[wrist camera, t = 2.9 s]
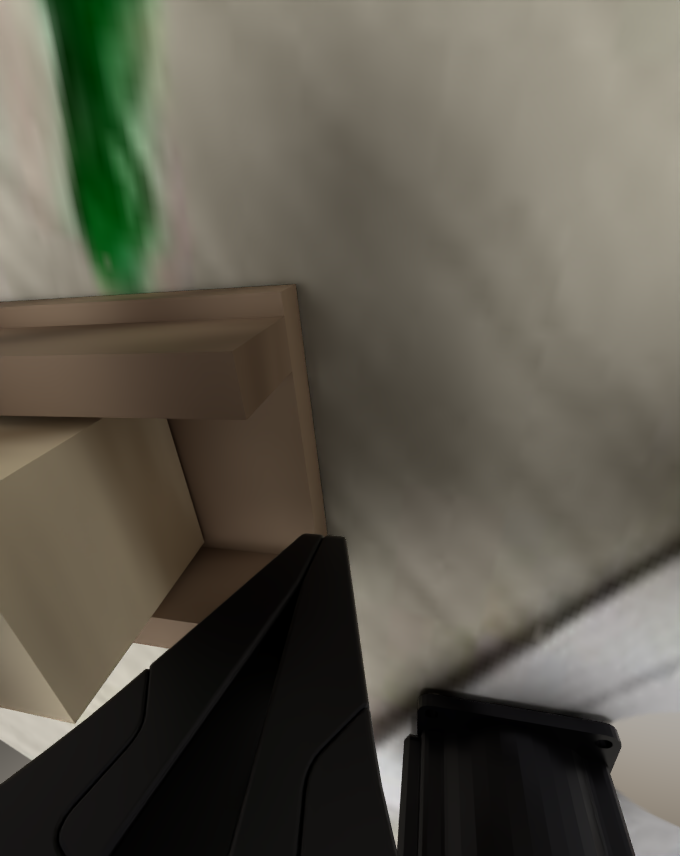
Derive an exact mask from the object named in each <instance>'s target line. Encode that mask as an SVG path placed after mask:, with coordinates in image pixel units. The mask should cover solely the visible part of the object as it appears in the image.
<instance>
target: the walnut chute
mask: <svg viewBox="0 0 680 856" xmlns="http://www.w3.org/2000/svg"><path fill="white" fill-rule="evenodd" d="M0 416H51V417H104V418H157V419H167V422H168V425H169V428H170V431H171V435H172V438H173V441H174V445H175V448H176V451H177V454H178V458H179V461H180V464H181V467H182V471H183V474H184V477H185V481H186V484H187V487H188V490H189V494H190V497H191V500H192V503H193V507H194V510H195V513H196V517H197V520H198V523H199V526H200V530H201V533H202V536H203V539H204V543H203V545H202V546H201V548H200V549H199V550H198V552H197V553H196V555H195V556H194V557H193V559H192V560H191V562H190V563H189V564H188V566H187V567H186V569H185V570H184V572H183V573H182V574H181V576H180V577H179V579H178V580H177V581H176V583H175V584H174V586H173V587H172V588H171V590H170V591H169V593H168V594H167V595H166V597H165V598H164V600H163V601H162V602H161V604H160V605H159V607H158V608H157V609H156V611H155V612H154V614H153V615H152V616H151V618H150V619H149V621H148V622H147V623H146V625H145V626H144V628H143V629H142V630H141V632H140V633H139V635H138V636H137V637H136V639H135V640H134V642H133V643H138V644H144V645H150V646H157V647H163V648H169V649H170V648H171V647H172V646H173V645H174V644H175V643H177V642H178V641H179V640H180V639H181V638H182V637H184V636H185V635H186V634H187V633H188V632H189V631H190V630H192V629H193V628H194V627H195V626H196V625H197V624H199V623H200V622H201V621H202V620H203V619H204V618H206V617H207V616H208V615H209V614H210V613H211V612H212V611H214V610H215V609H216V608H217V607H218V606H219V605H221V604H222V603H223V602H224V601H225V600H226V599H228V598H229V597H230V596H231V595H232V594H233V593H234V592H236V591H237V590H238V589H239V588H240V587H241V586H243V585H244V584H245V583H246V582H247V581H248V580H250V579H251V578H252V577H253V576H254V575H255V574H256V573H258V572H259V571H260V570H261V569H262V568H263V567H265V566H266V565H267V564H268V563H269V562H270V561H272V560H273V559H274V558H275V557H276V556H277V555H278V554H280V553H281V552H282V551H283V550H284V549H285V548H287V547H288V546H289V545H290V544H291V543H292V542H294V541H295V540H296V539H297V538H298V537H299V536H301V535H302V534H304V533H310V534H321V535H323V536H324V537H325V536H327V527H326V519H325V511H324V503H323V495H322V487H321V480H320V472H319V464H318V456H317V448H316V440H315V432H314V424H313V416H312V408H311V400H310V393H309V385H308V377H307V369H306V361H305V353H304V345H303V337H302V329H301V321H300V313H299V306H298V298H297V290H296V284H290V285H274V286H257V287H241V288H224V289H208V290H191V291H175V292H158V293H142V294H126V295H109V296H93V297H76V298H60V299H43V300H27V301H10V302H0Z"/></svg>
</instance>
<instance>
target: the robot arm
mask: <svg viewBox="0 0 680 856" xmlns="http://www.w3.org/2000/svg"><path fill="white" fill-rule="evenodd" d="M620 749H621V741H620V739H619V736H618V733H617V730H616V729H615V727H613V726H612V725H610V724H607V723H604V722H598V721H592V720H586V719H580V718H574V717H568V716H562V715H556V714H549V713H543V712H537V711H531V710H525V709H519V708H513V707H507V706H501V705H495V704H489V703H483V702H477V701H471V700H464V699H458V698H452V697H446V696H440V695H434V694H424V695H421V696H420V697H419V699H418V711H417V735H412V734H410V735H409V736H408V737H407V738H406V739H405V740H404V753H403V768H402V783H401V799H400V814H399V829H398V845H397V848H396V845H395V841H394V836H393V832H392V827H391V823H390V819H389V814H388V810H387V806H386V801H385V797H384V793H383V788H382V783H381V777H380V771H379V766H378V760H377V754H376V748H375V742H374V735H373V728H372V721H371V714H370V711H369V701H368V694H367V687H366V680H365V672H364V665H363V658H362V651H361V643H360V636H359V629H358V622H357V614H356V607H355V600H354V593H353V585H352V578H351V571H350V564H349V556H348V549H347V542H346V538H345V537H343V536H334V535H327V536H325V537H324V536H323V535H321V534H310V533H304V534H302V535H301V536H299V537H298V538H297V539H296V540H295V541H294V542H292V543H291V544H290V545H289V546H288V547H287V548H285V549H284V550H283V551H282V552H281V553H280V554H278V555H277V556H276V557H275V558H274V559H273V560H272V561H270V562H269V563H268V564H267V565H266V566H265V567H263V568H262V569H261V570H260V571H259V572H258V573H256V574H255V575H254V576H253V577H252V578H251V579H250V580H248V581H247V582H246V583H245V584H244V585H243V586H241V587H240V588H239V589H238V590H237V591H236V592H234V593H233V594H232V595H231V596H230V597H229V598H228V599H226V600H225V601H224V602H223V603H222V604H221V605H219V606H218V607H217V608H216V609H215V610H214V611H212V612H211V613H210V614H209V615H208V616H207V617H206V618H204V619H203V620H202V621H201V622H200V623H199V624H197V625H196V626H195V627H194V628H193V629H192V630H190V631H189V632H188V633H187V634H186V635H185V636H184V637H182V638H181V639H180V640H179V641H178V642H177V643H175V644H174V645H173V646H172V647H171V648H170V649H168V650H167V651H166V652H165V653H164V654H163V655H162V656H160V657H159V658H158V659H157V660H156V661H155V662H153V663H152V664H151V666H150V669H145V670H144V671H143V672H142V673H140V674H139V675H138V676H137V677H136V678H135V679H133V680H132V681H131V682H130V683H129V684H128V685H127V686H125V687H124V688H123V689H122V690H121V691H119V692H118V693H117V694H116V695H115V696H113V697H112V698H111V699H110V700H109V701H107V702H106V703H105V704H104V705H103V706H101V707H100V708H99V709H98V710H97V711H95V712H94V713H93V714H92V715H91V716H89V717H88V718H87V719H86V720H84V721H83V722H82V723H80V724H79V725H78V726H77V727H75V728H74V729H73V730H71V731H70V732H69V733H68V734H66V735H65V736H64V737H62V738H61V739H60V740H58V741H57V742H56V743H55V744H53V745H52V746H51V747H49V748H48V749H47V750H46V751H44V752H43V753H42V754H40V755H39V756H38V757H36V758H35V759H34V760H32V761H31V762H30V763H28V764H27V765H26V766H24V767H23V768H22V769H20V770H19V771H18V772H16V773H15V774H14V775H12V776H11V777H10V778H8V779H7V780H6V781H4V782H3V783H2V784H0V856H635V853H634V850H633V846H632V843H631V840H630V837H629V833H628V830H627V827H626V824H625V820H624V817H623V814H622V811H621V807H620V804H619V801H618V797H617V794H616V791H615V788H614V784H613V781H612V778H611V775H610V773H611V770H612V768H613V765H614V763H615V761H616V759H617V756H618V753H619V751H620Z"/></svg>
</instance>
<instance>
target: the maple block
mask: <svg viewBox="0 0 680 856" xmlns="http://www.w3.org/2000/svg"><path fill="white" fill-rule="evenodd" d="M203 543H204V539H203V536H202V533H201V530H200V526H199V523H198V520H197V517H196V513H195V510H194V507H193V503H192V500H191V497H190V494H189V490H188V487H187V484H186V481H185V477H184V474H183V471H182V467H181V464H180V461H179V458H178V454H177V451H176V448H175V445H174V441H173V438H172V435H171V431H170V428H169V425H168V422H167V419H157V418H104V417H51V416H0V707H2V708H6V709H10V710H15V711H19V712H24V713H28V714H33V715H37V716H42V717H46V718H51V719H55V720H60V721H64V722H69V723H73V724H75V723H76V722H77V720H78V719H79V718H80V716H81V715H82V713H83V712H84V711H85V709H86V708H87V706H88V705H89V703H90V702H91V701H92V699H93V698H94V696H95V695H96V694H97V692H98V691H99V689H100V688H101V687H102V685H103V684H104V682H105V681H106V680H107V678H108V677H109V675H110V674H111V673H112V671H113V670H114V668H115V667H116V666H117V664H118V663H119V661H120V660H121V659H122V657H123V656H124V654H125V653H126V652H127V650H128V649H129V647H130V646H131V645H132V643H133V642H134V640H135V639H136V637H137V636H138V635H139V633H140V632H141V630H142V629H143V628H144V626H145V625H146V623H147V622H148V621H149V619H150V618H151V616H152V615H153V614H154V612H155V611H156V609H157V608H158V607H159V605H160V604H161V602H162V601H163V600H164V598H165V597H166V595H167V594H168V593H169V591H170V590H171V588H172V587H173V586H174V584H175V583H176V581H177V580H178V579H179V577H180V576H181V574H182V573H183V572H184V570H185V569H186V567H187V566H188V564H189V563H190V562H191V560H192V559H193V557H194V556H195V555H196V553H197V552H198V550H199V549H200V548H201V546H202V545H203Z"/></svg>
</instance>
